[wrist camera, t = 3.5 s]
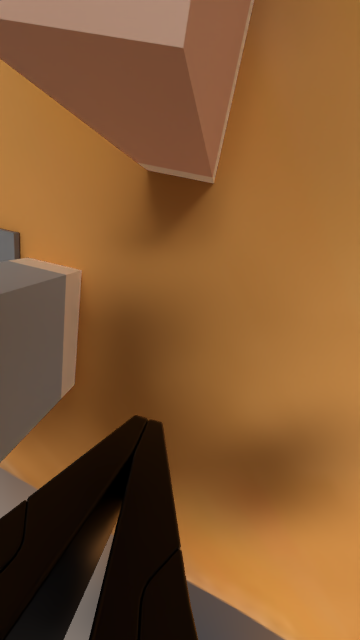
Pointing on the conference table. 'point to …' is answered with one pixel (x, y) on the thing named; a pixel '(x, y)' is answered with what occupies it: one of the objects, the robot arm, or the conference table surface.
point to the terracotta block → (136, 71)
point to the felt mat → (9, 245)
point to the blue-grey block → (35, 343)
